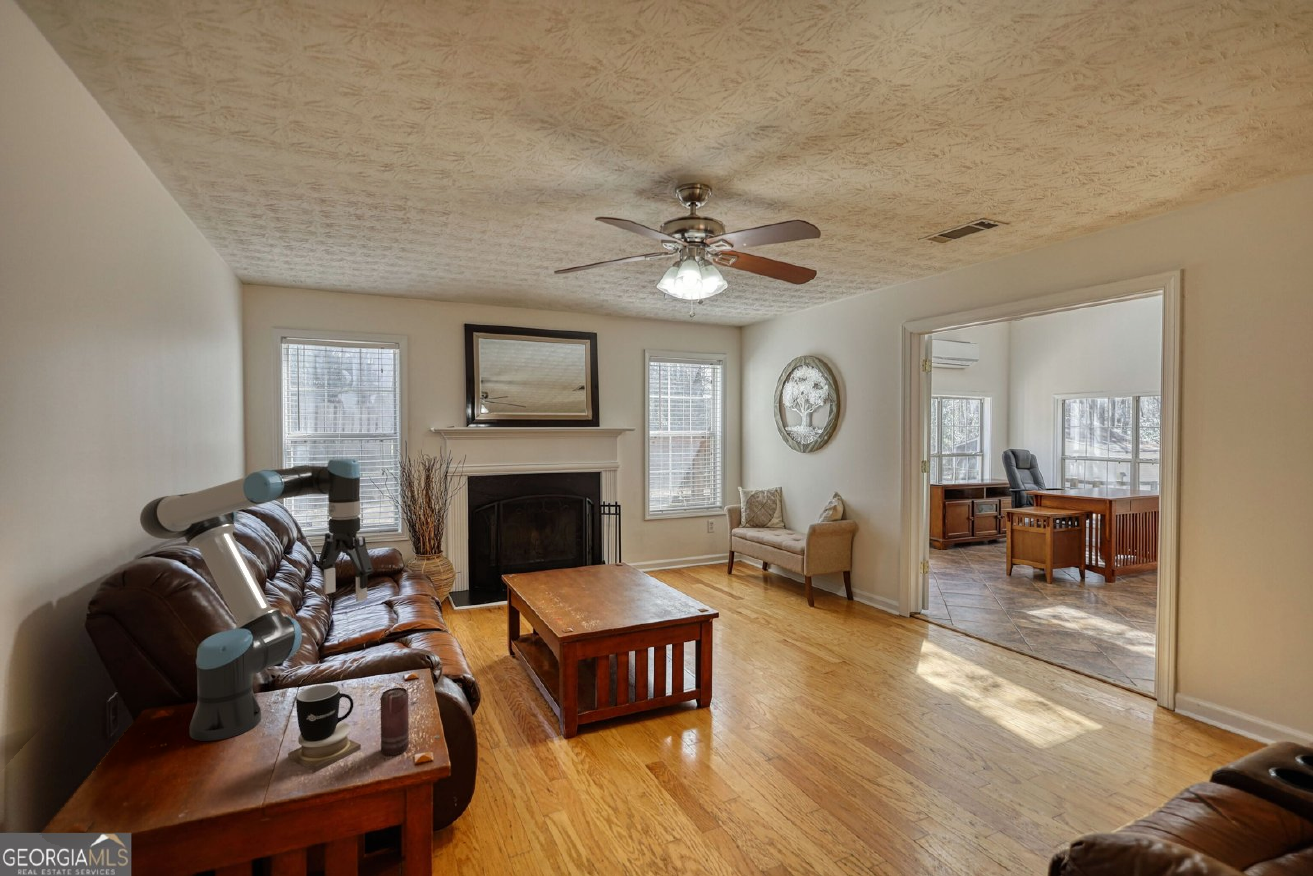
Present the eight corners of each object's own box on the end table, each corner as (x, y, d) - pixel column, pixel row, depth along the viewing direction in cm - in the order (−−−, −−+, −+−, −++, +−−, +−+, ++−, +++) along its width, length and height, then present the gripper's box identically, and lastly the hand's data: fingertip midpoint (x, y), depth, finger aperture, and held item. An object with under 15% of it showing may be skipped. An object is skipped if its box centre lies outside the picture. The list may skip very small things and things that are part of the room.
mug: (299, 749, 140) (299, 705, 140) (294, 733, 147) (293, 690, 147) (357, 733, 147) (357, 691, 147) (349, 718, 155) (349, 678, 154)
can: (379, 758, 146) (378, 699, 145) (383, 744, 152) (382, 688, 151) (406, 755, 147) (406, 696, 147) (410, 741, 153) (409, 685, 153)
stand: (288, 758, 146) (287, 737, 146) (332, 737, 155) (332, 717, 155) (316, 771, 140) (315, 749, 140) (360, 749, 150) (360, 728, 150)
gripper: (303, 515, 169) (304, 593, 170) (361, 523, 156) (362, 607, 157) (329, 511, 175) (330, 586, 176) (387, 519, 163) (388, 599, 164)
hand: (345, 596), depth 167 cm, fingers open, 13 cm apart
